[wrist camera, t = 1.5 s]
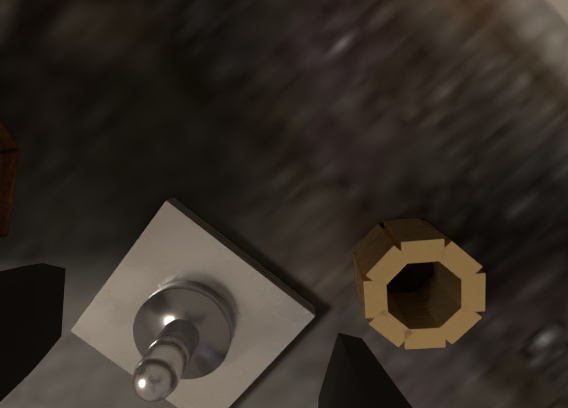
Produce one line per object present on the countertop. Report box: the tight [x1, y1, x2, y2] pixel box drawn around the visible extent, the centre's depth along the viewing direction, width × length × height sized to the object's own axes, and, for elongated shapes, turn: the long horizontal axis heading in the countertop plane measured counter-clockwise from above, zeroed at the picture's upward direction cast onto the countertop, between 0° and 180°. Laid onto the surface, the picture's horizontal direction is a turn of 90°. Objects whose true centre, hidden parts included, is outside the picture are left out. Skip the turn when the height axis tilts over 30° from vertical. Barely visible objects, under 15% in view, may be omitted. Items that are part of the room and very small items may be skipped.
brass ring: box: [353, 218, 486, 349], centre depth 17 cm, size 5×5×4 cm
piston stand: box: [71, 197, 315, 408], centre depth 17 cm, size 10×10×6 cm
